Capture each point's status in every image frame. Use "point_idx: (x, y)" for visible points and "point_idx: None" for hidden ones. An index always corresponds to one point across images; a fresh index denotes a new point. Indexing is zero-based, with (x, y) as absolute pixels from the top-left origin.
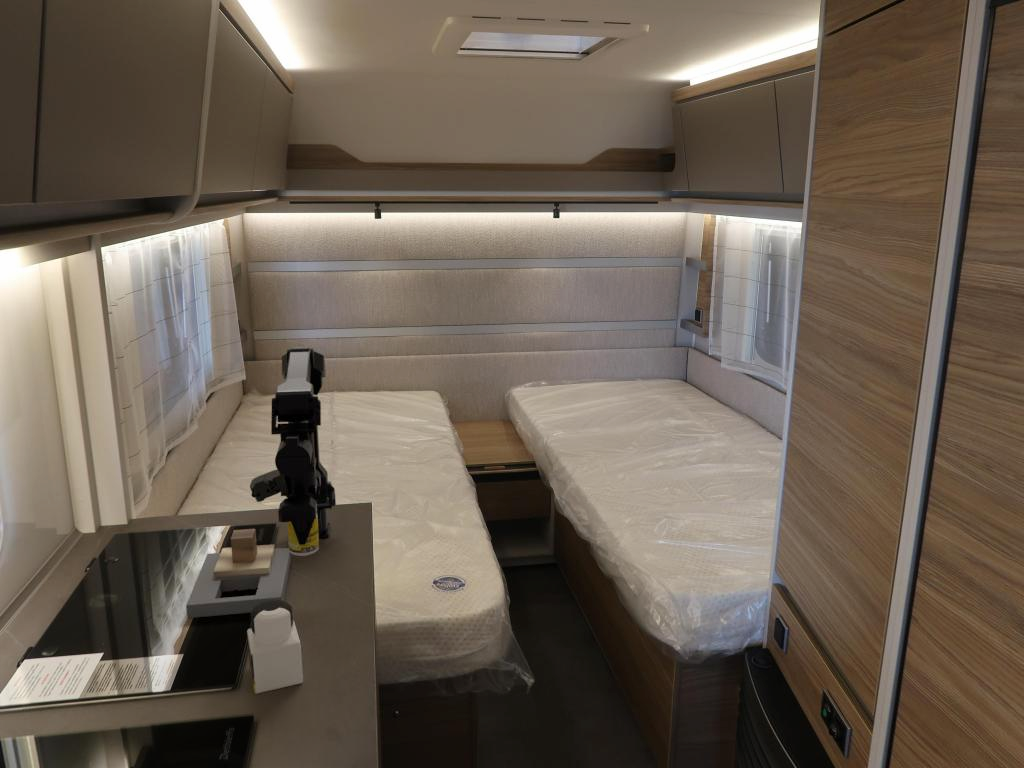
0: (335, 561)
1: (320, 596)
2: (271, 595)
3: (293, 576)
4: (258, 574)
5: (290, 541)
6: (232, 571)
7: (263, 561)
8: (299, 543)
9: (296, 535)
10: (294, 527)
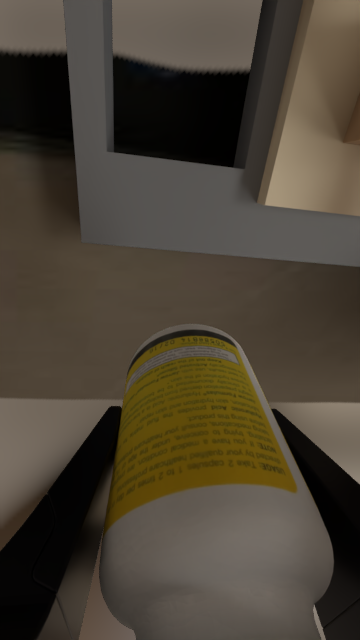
0: (298, 354)
1: (144, 324)
2: (97, 211)
3: (268, 264)
4: (264, 160)
5: (156, 370)
6: (306, 23)
7: (323, 182)
8: (105, 412)
9: (74, 455)
10: (21, 532)
